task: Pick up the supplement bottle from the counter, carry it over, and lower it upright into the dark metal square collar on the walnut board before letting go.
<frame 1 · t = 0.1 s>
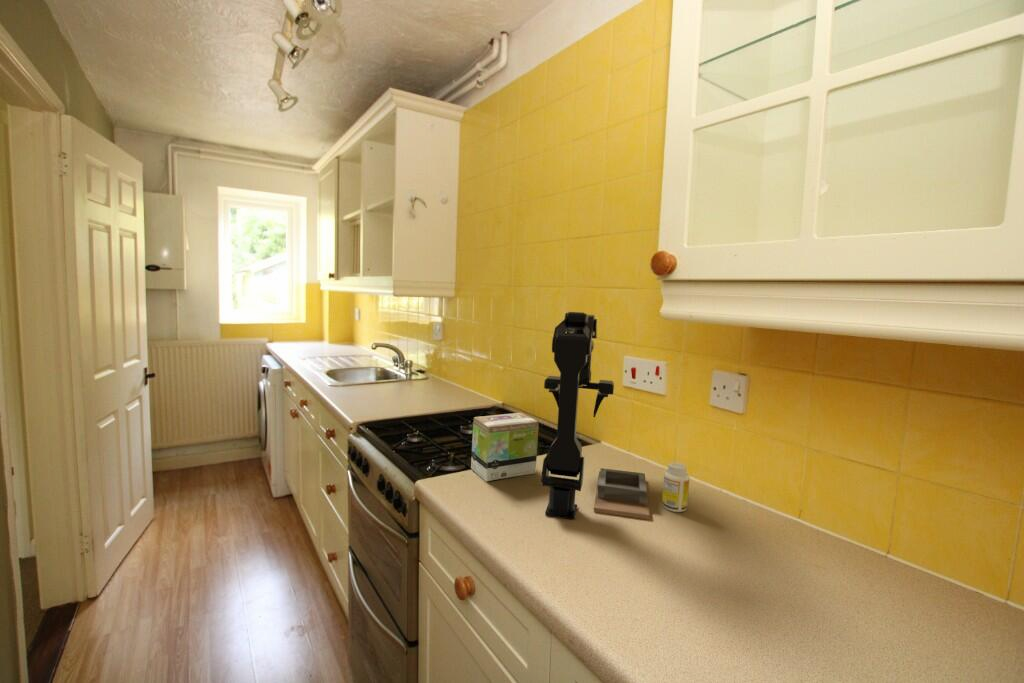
hand: (577, 415, 130), 15 cm above the worktop, tool pointing down, fingers open, 9 cm apart
tea box: (503, 472, 126), on the worktop
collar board: (621, 494, 114), on the worktop
supplement bottle: (674, 508, 109), on the worktop
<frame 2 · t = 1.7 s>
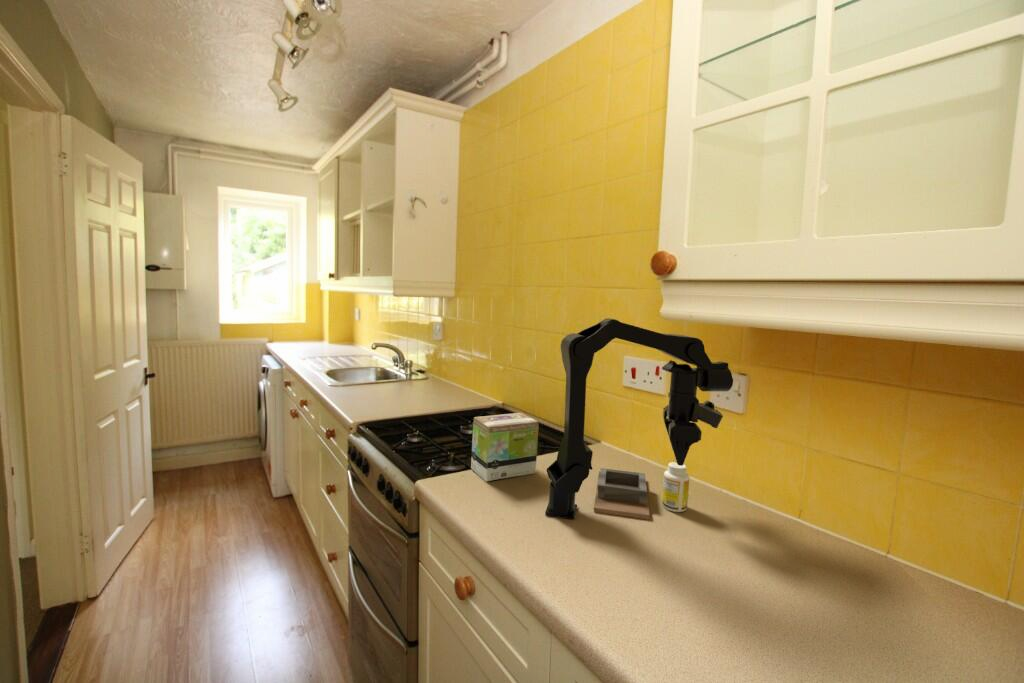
hand: (677, 457, 108), 12 cm above the worktop, tool pointing down, fingers open, 9 cm apart
nothing on the worktop moved.
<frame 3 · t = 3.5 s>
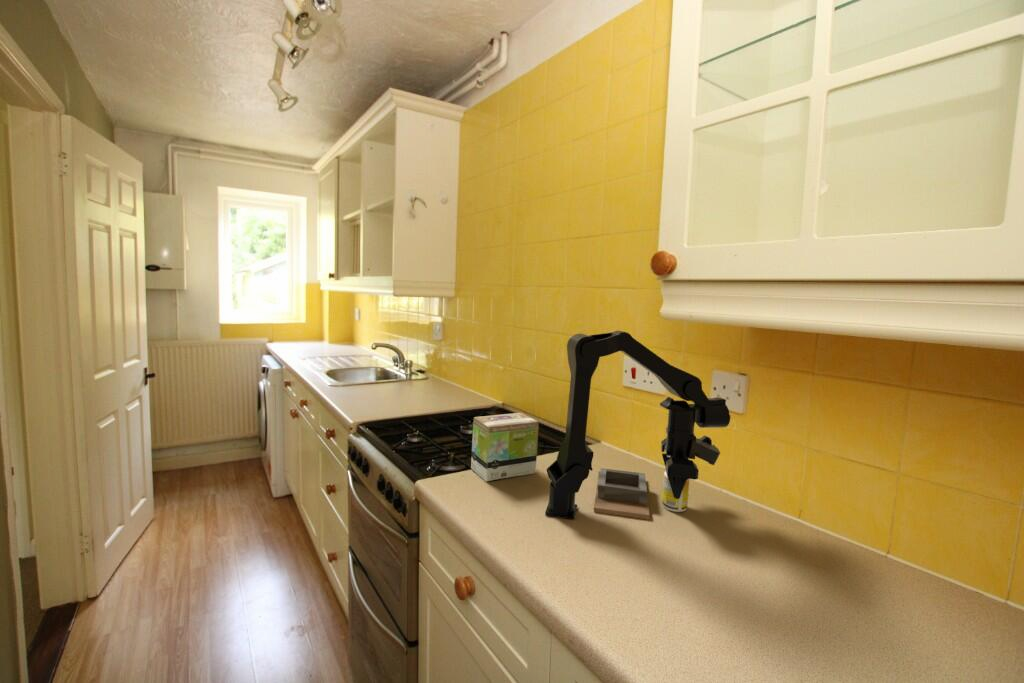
hand: (675, 492, 108), 4 cm above the worktop, tool pointing down, fingers closed on supplement bottle, 6 cm apart
supplement bottle: (674, 508, 109), on the worktop, touching gripper
everything else where it was.
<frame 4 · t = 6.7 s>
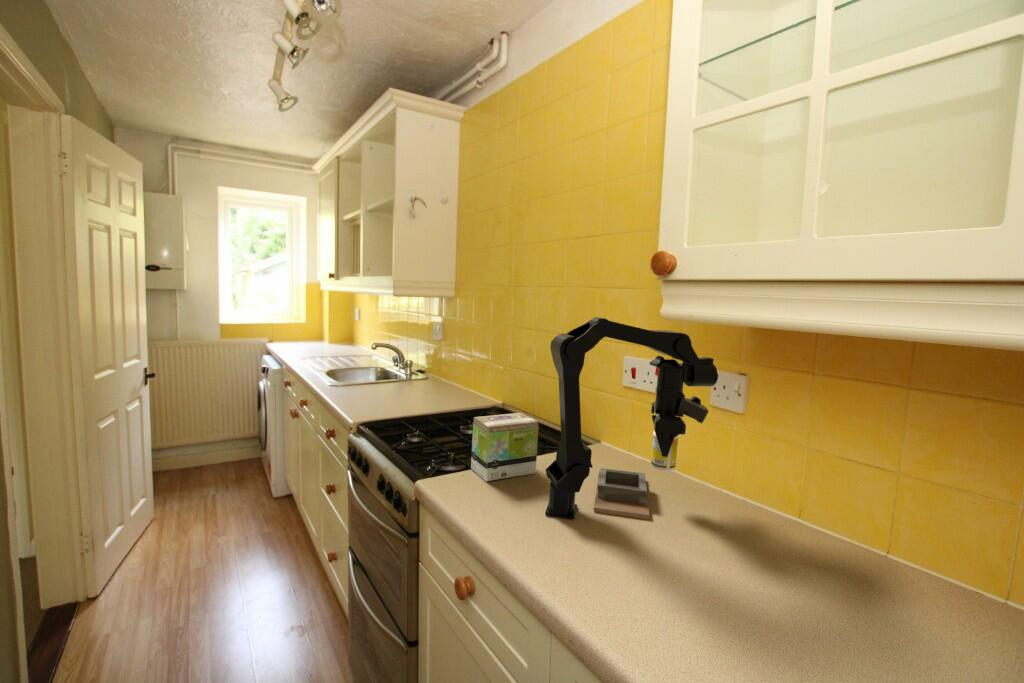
hand: (663, 452, 109), 13 cm above the worktop, tool pointing down, fingers closed on supplement bottle, 6 cm apart
supplement bottle: (662, 467, 109), point 9 cm above the worktop, touching gripper
everything else where it was.
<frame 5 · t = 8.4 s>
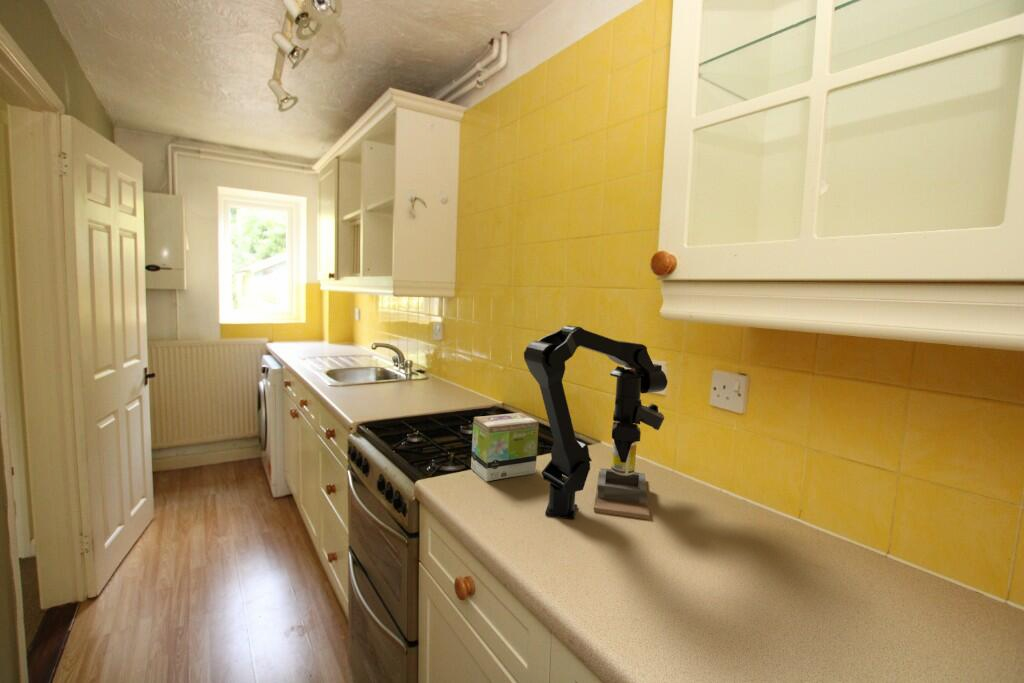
hand: (623, 458, 113), 9 cm above the worktop, tool pointing down, fingers closed on supplement bottle, 6 cm apart
supplement bottle: (622, 472, 114), point 6 cm above the worktop, touching gripper
everything else where it was.
when the fingers open (6 cm above the worktop, at t = 10.0 s): supplement bottle drops 1 cm, resting on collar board.
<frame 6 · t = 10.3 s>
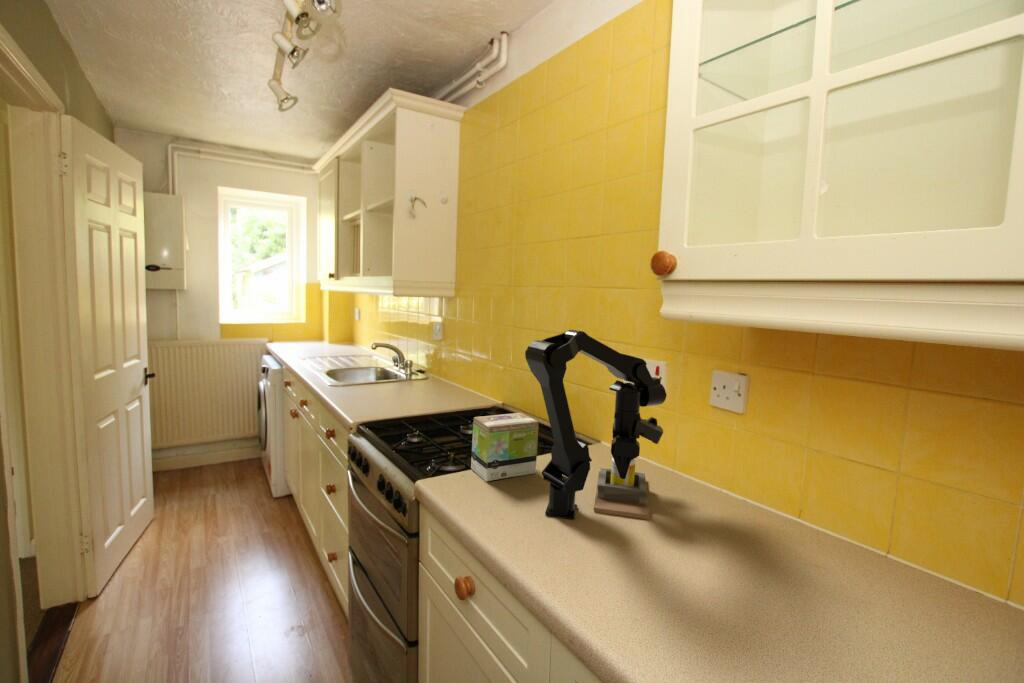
hand: (622, 471, 114), 6 cm above the worktop, tool pointing down, fingers open, 9 cm apart
supplement bottle: (621, 491, 114), point 1 cm above the worktop, touching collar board
everything else where it was.
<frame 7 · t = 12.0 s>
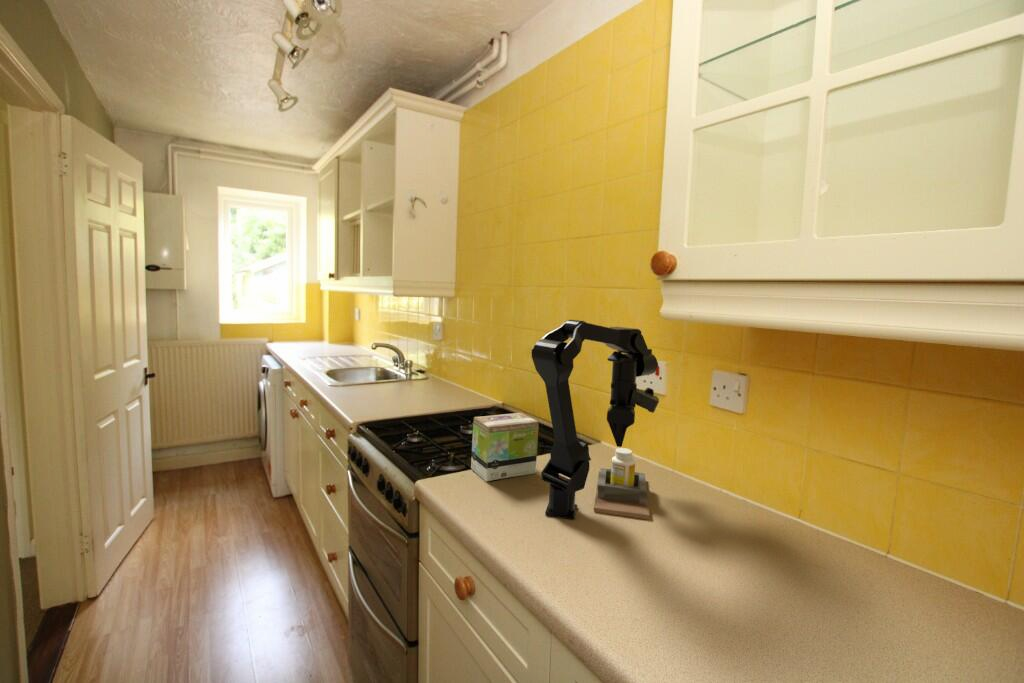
hand: (620, 440, 116), 13 cm above the worktop, tool pointing down, fingers open, 9 cm apart
nothing on the worktop moved.
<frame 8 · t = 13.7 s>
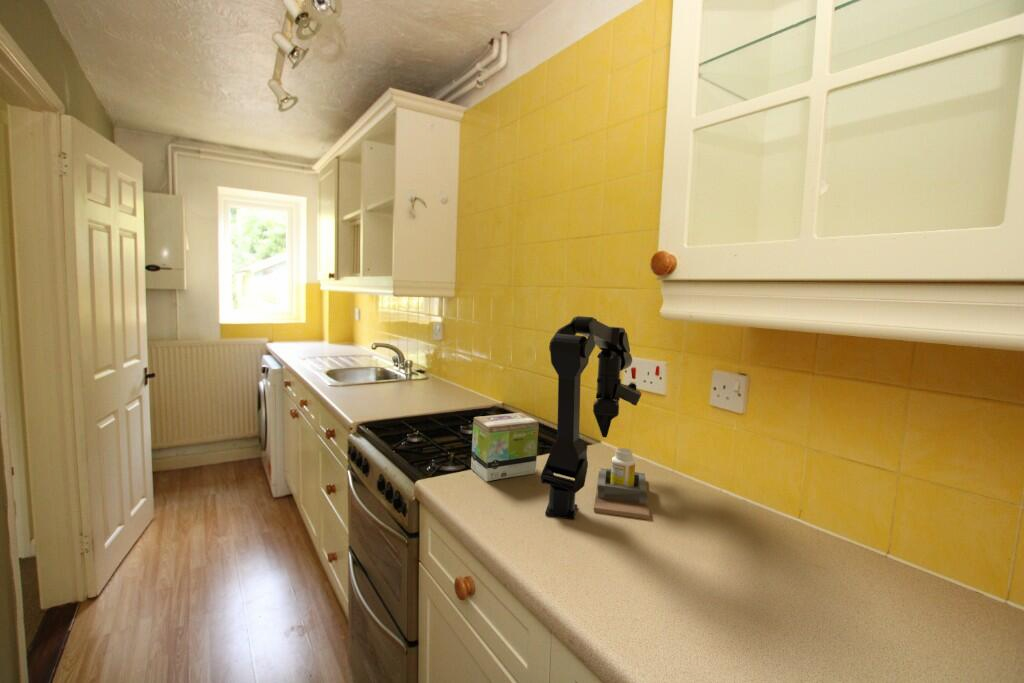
hand: (605, 431, 125), 12 cm above the worktop, tool pointing down, fingers open, 9 cm apart
nothing on the worktop moved.
at the end: supplement bottle 0.1 cm off-centre on the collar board, point 0.8 cm above the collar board's base; supplement bottle tilted 0°; the gripper is holding nothing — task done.
